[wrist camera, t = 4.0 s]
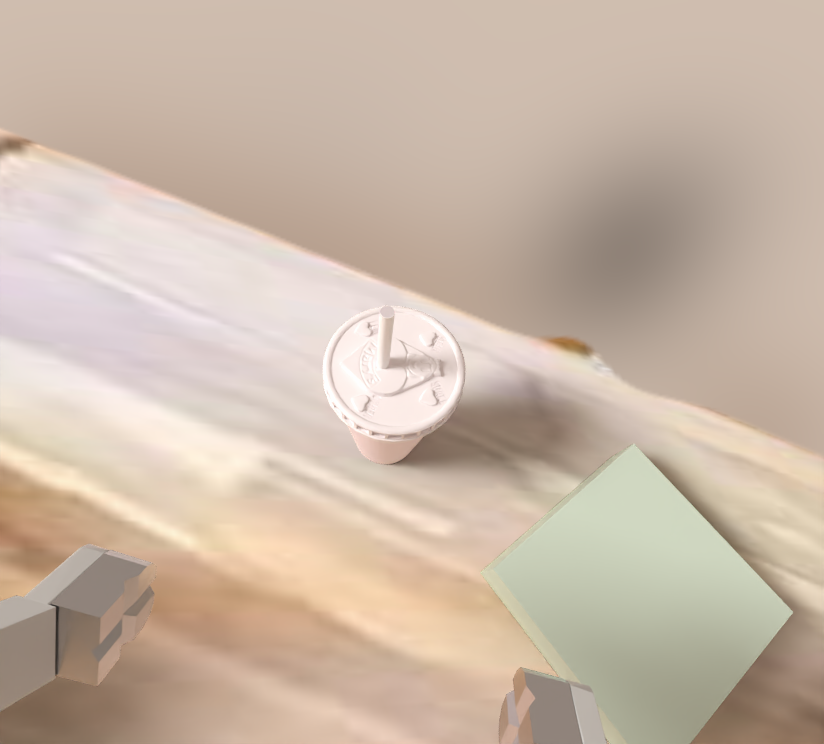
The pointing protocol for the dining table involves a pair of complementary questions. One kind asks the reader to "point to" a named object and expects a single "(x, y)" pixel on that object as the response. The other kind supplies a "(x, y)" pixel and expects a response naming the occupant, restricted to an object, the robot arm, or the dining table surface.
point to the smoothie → (392, 379)
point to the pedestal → (638, 602)
